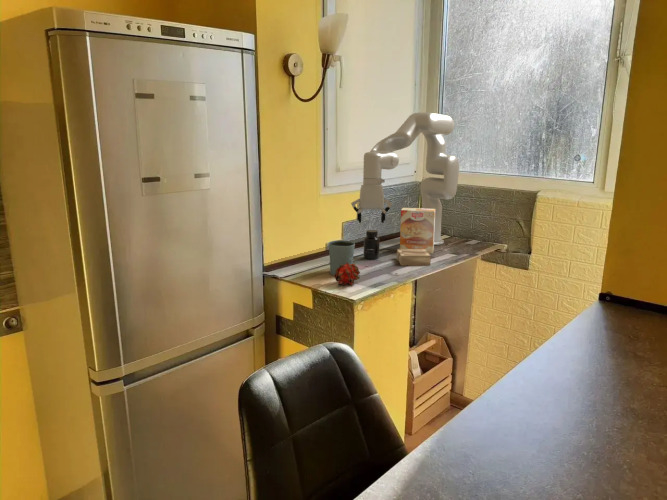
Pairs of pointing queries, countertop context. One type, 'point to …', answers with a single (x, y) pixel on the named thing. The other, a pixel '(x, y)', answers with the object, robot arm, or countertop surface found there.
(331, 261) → the grey-green cup
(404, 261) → the base
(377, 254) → the supplement bottle
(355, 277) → the dragon fruit
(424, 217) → the coffeecake box
